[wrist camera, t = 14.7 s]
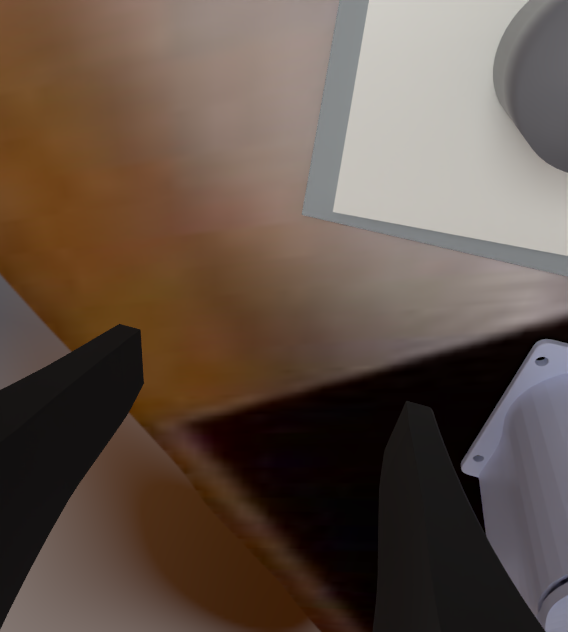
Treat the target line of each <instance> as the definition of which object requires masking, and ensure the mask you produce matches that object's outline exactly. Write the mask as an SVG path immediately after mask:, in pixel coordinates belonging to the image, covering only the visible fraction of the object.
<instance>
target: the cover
mask: <svg viewBox="0 0 568 632" xmlns="http://www.w3.org/2000/svg"><path fill="white" fill-rule="evenodd" d="M333 212H335V213H341V214H346V215H352V216H357V217H362V218H368V219H373V220H378V221H384V222H389V223H394V224H400V225H405V226H410V227H416V228H421V229H426V230H432V231H437V232H442V233H448V234H453V235H458V236H464V237H469V238H474V239H480V240H485V241H491V242H496V243H501V244H507V245H512V246H517V247H523V248H528V249H533V250H539V251H544V252H549V253H555V254H560V255H565V256H568V0H369V3H368V9H367V15H366V21H365V27H364V32H363V38H362V44H361V50H360V56H359V62H358V67H357V73H356V79H355V85H354V91H353V97H352V102H351V108H350V114H349V120H348V126H347V132H346V137H345V143H344V149H343V155H342V161H341V167H340V172H339V178H338V184H337V190H336V196H335V202H334V207H333Z"/></svg>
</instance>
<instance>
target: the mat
mask: <svg viewBox="0 0 568 632" xmlns="http://www.w3.org/2000/svg"><path fill="white" fill-rule="evenodd" d="M368 3H369V0H340V1H339V7H338V13H337V18H336V24H335V30H334V35H333V41H332V47H331V52H330V58H329V64H328V69H327V75H326V81H325V86H324V92H323V98H322V103H321V109H320V115H319V120H318V126H317V132H316V137H315V143H314V149H313V154H312V160H311V166H310V171H309V177H308V183H307V188H306V194H305V200H304V205H303V211H302V215H305V216H309V217H314V218H318V219H322V220H327V221H331V222H335V223H340V224H344V225H348V226H353V227H357V228H361V229H365V230H370V231H374V232H378V233H383V234H387V235H391V236H396V237H400V238H404V239H408V240H413V241H417V242H421V243H426V244H430V245H434V246H439V247H443V248H447V249H451V250H456V251H460V252H464V253H469V254H473V255H477V256H482V257H486V258H490V259H495V260H499V261H503V262H507V263H512V264H516V265H520V266H525V267H529V268H533V269H538V270H542V271H546V272H550V273H555V274H559V275H563V276H568V256H565V255H560V254H555V253H549V252H544V251H539V250H533V249H528V248H523V247H517V246H512V245H507V244H501V243H496V242H491V241H485V240H480V239H474V238H469V237H464V236H458V235H453V234H448V233H442V232H437V231H432V230H426V229H421V228H416V227H410V226H405V225H400V224H394V223H389V222H384V221H378V220H373V219H368V218H362V217H357V216H352V215H346V214H341V213H335V212H333V207H334V202H335V196H336V190H337V184H338V178H339V172H340V167H341V161H342V155H343V149H344V143H345V137H346V132H347V126H348V120H349V114H350V108H351V102H352V97H353V91H354V85H355V79H356V73H357V67H358V62H359V56H360V50H361V44H362V38H363V32H364V27H365V21H366V15H367V9H368Z"/></svg>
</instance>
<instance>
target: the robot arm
mask: <svg viewBox="0 0 568 632" xmlns="http://www.w3.org/2000/svg"><path fill="white" fill-rule="evenodd" d="M539 357H546V358H545V359H543V360H536V359H537V358H539ZM143 384H144V379H143V363H142V348H141V332H140V329H136V328H132V327H129V326H125V325H121V324H119V325H117V326H115V327H113V328H112V329H110V330H108V331H106V332H105V333H103V334H101V335H100V336H98V337H96V338H95V339H93V340H91V341H89V342H88V343H86V344H84V345H83V346H81V347H79V348H78V349H76V350H74V351H73V352H71V353H69V354H67V355H66V356H64V357H62V358H60V359H58V360H57V361H55V362H53V363H51V364H50V365H48V366H46V367H44V368H42V369H40V370H38V371H37V372H35V373H33V374H31V375H29V376H27V377H25V378H23V379H21V380H19V381H17V382H15V383H14V384H11V385H10V386H8V387H6V388H3V389H1V390H0V629H1V627H2V624H3V622H4V620H5V618H6V616H7V614H8V612H9V610H10V608H11V606H12V604H13V602H14V600H15V598H16V596H17V594H18V592H19V590H20V588H21V586H22V584H23V582H24V580H25V578H26V576H27V574H28V572H29V571H30V569H31V567H32V565H33V563H34V561H35V559H36V557H37V555H38V554H39V552H40V550H41V548H42V546H43V544H44V543H45V541H46V539H47V537H48V535H49V533H50V532H51V530H52V528H53V526H54V525H55V523H56V521H57V519H58V518H59V516H60V514H61V512H62V511H63V509H64V507H65V505H66V503H67V502H68V500H69V498H70V497H71V495H72V494H73V492H74V491H75V489H76V487H77V486H78V484H79V483H80V481H81V480H82V479H83V477H84V476H85V474H86V473H87V472H88V470H89V469H90V467H91V466H92V465H93V463H94V462H95V460H96V459H97V457H98V456H99V455H100V453H101V452H102V450H103V449H104V448H105V446H106V445H107V443H108V441H110V439H111V438H112V436H113V435H114V433H115V432H116V430H117V429H118V428H119V426H120V425H121V423H122V422H123V420H124V419H125V417H126V416H127V414H128V412H129V411H130V409H131V407H132V405H133V403H134V401H135V400H136V398H137V396H138V394H139V392H140V390H141V388H142V386H143ZM476 455H480V456H476ZM461 469H462V471H463V472H464V473H466V474H468V475H471V476H475V477H479V483H480V491H481V499H482V506H483V514H484V522H485V530H486V535H485V533H484V531H483V529H482V527H481V525H480V523H479V521H478V519H477V517H476V515H475V513H474V511H473V509H472V507H471V505H470V503H469V501H468V499H467V497H466V494H465V492H464V490H463V488H462V485H461V483H460V481H459V478H458V476H457V474H456V472H455V469H454V467H453V465H452V462H451V460H450V457H449V455H448V452H447V449H446V447H445V444H444V442H443V439H442V436H441V433H440V431H439V428H438V425H437V422H436V419H435V416H434V413H433V411H432V409H431V408H430V407H427V406H423V405H420V404H416V403H412V402H408V401H406V403H405V405H404V407H403V409H402V412H401V414H400V416H399V419H398V421H397V423H396V425H395V428H394V430H393V432H392V434H391V437H390V439H389V441H388V443H387V446H386V448H385V450H384V456H383V464H382V471H381V479H380V487H379V530H378V582H377V598H376V607H375V616H374V625H373V632H568V343H564V342H560V341H556V340H552V339H543V340H540V341H538V342H536V343H535V344H534V346H533V347H532V349H531V350H530V352H529V354H528V355H527V357H526V358H525V360H524V362H523V363H522V365H521V367H520V368H519V370H518V371H517V373H516V375H515V376H514V378H513V379H512V381H511V383H510V384H509V386H508V387H507V389H506V391H505V392H504V394H503V396H502V397H501V399H500V400H499V402H498V404H497V405H496V407H495V408H494V410H493V412H492V413H491V415H490V416H489V418H488V420H487V421H486V423H485V425H484V426H483V428H482V429H481V431H480V433H479V434H478V436H477V437H476V439H475V441H474V442H473V444H472V445H471V447H470V449H469V450H468V452H467V454H466V455H465V457H464V458H463V460H462V462H461Z"/></svg>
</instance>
